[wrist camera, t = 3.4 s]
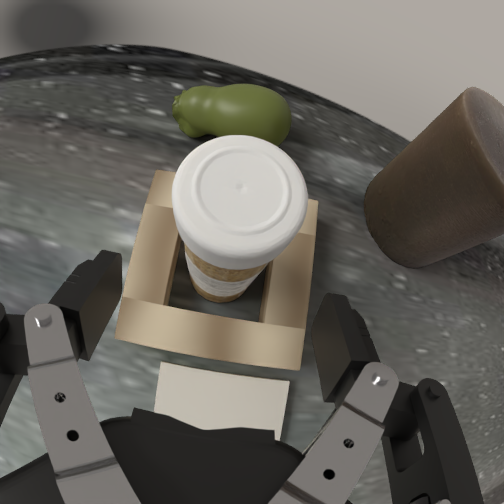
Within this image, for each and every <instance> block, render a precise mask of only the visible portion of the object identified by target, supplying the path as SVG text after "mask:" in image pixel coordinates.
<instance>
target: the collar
mask: <svg viewBox="0 0 504 504" xmlns="http://www.w3.org/2000/svg"><path fill="white" fill-rule="evenodd" d="M175 175H176V173H175V172H169V171H163V170H156V172H155V175H154V178H153V181H152V184H151V187H150V190H149V194H148V197H147V200H146V204H145V207H144V211H143V214H142V218H141V221H140V225H139V228H138V232H137V236H136V240H135V244H134V248H133V252H132V256H131V260H130V264H129V268H128V272H127V277H126V281H125V286H124V291H123V295H122V300H121V305H120V310H119V315H118V321H117V326H116V332H115V338H116V339H120V340H124V341H128V342H132V343H136V344H140V345H145V346H149V347H154V348H158V349H163V350H168V351H172V352H177V353H182V354H188V355H193V356H198V357H204V358H210V359H216V360H222V361H228V362H235V363H242V364H249V365H256V366H264V367H272V368H281V369H291V370H300V365H301V358H302V351H303V344H304V337H305V329H306V321H307V313H308V305H309V296H310V287H311V278H312V268H313V258H314V247H315V236H316V223H317V210H318V201H316V200H312V199H308V207H307V213H306V217H305V220H304V222H303V224H302V226H301V228H300V230H299V231H298V233H297V234H296V236H295V237H294V239H293V240H292V241H291V242H290V244H289V245H288V246H287V247H286V248H285V249H284V250H283V252H282V253H281V254H279V255H278V256H277V257H276V258H274V259H273V260H271V261H269V263H268V264H267V266H266V273H265V280H264V287H263V294H262V301H261V307H260V314H259V321H258V322H252V321H246V320H240V319H234V318H228V317H222V316H216V315H211V314H205V313H200V312H195V311H189V310H184V309H179V308H174V307H169V306H168V303H169V298H170V293H171V288H172V283H173V278H174V273H175V268H176V264H177V259H178V254H179V250H180V245H181V241H182V238H181V236H180V234H179V232H178V229H177V226H176V222H175V217H174V213H173V206H172V185H173V181H174V178H175Z"/></svg>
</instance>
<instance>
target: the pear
mask: <svg viewBox="0 0 504 504" xmlns="http://www.w3.org/2000/svg"><path fill="white" fill-rule="evenodd" d="M174 100H175V101H174V103H173V105H172V112H173V117H174V118H175V120H176V121H177V122H178V124H179V128H180V129H181V130H182V131H183V132H184V133H185V134H186V135H188V136H189V137H192V138H196V137H200V136H203V135H205V134H212V135H216V136H218V137H223V136H229V135H246V136H253V137H256V138H259V139H263V140H265V141H267V142H270V143H272V144H274V145H275V146H279V145H280V144H281V143H282V142H283V141H284V140H285V138H286V137H287V135H288V133H289V130H290V126H291V111H290V108H289V106H288V104H287V102H286V101H285V99H284V98H283V97H282V96H280V95H279V94H278V93H276V92H274V91H272V90H270V89H268V88H265V87H261V86H257V85H252V84H234V85H228V86H224V87H212V86H197V87H192V88H190V89H189V90H188V91H186V90H183V91H182V94H181V95H179V96H175V97H174Z"/></svg>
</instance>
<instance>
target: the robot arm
mask: <svg viewBox="0 0 504 504" xmlns="http://www.w3.org/2000/svg"><path fill="white" fill-rule="evenodd" d="M121 294H122V256H121V254H120V253H116V252H111V251H106V250H101V251H100V253H99V254H98V255H97V256H96V258H95V259H94V260H93V261H92V260H87V261H85V262H83V263H81V264H80V265H78V266H77V267H76V268H75V270H74V271H73V272H72V273H71V275H70V276H69V277H68V278H67V280H66V282H64V283H63V285H62V286H61V287H60V288H59V290H58V291H57V292H56V294H55V295H54V296H53V298H52V299H51V300H50V302H49V303H48V304H39V305H36V306H34V307H32V308H31V309H29V310H28V311H27V313H26V314H25V315H13V314H6V311H5V308H4V306H3V305H2V303H0V427H1V424H2V422H3V419H4V417H5V414H6V412H7V410H8V407H9V405H10V403H11V401H12V398H13V396H14V394H15V392H16V390H17V387H18V385H19V383H20V381H21V379H22V377H23V375H28V376H29V382H30V387H31V391H32V396H33V400H34V405H35V409H36V413H37V417H38V421H39V424H40V428H41V431H42V435H43V438H44V441H45V445H46V448H47V451H48V453H46V454H44V455H42V456H41V457H39V458H37V459H35V460H33V461H32V462H30V463H28V464H26V465H24V466H22V467H21V468H19V469H17V470H15V471H13V472H11V473H9V474H8V475H6V476H4V477H2V478H0V504H352V503H351V502H350V501H349V500H348V497H349V496H350V494H351V492H352V491H353V489H354V487H355V486H356V484H357V482H358V480H359V479H360V477H361V475H362V473H363V471H364V470H365V468H366V466H367V464H368V462H369V460H370V458H371V456H372V454H373V452H374V450H375V448H376V446H377V444H378V442H379V440H380V438H381V440H382V445H383V450H384V455H385V460H386V466H387V471H388V477H389V483H390V489H391V495H392V502H393V504H484V502H483V498H482V494H481V490H480V487H479V483H478V479H477V476H476V472H475V469H474V466H473V463H472V459H471V456H470V453H469V450H468V447H467V444H466V441H465V438H464V435H463V432H462V430H461V427H460V424H459V421H458V419H457V416H456V413H455V411H454V408H453V406H452V403H451V401H450V398H449V396H448V393H447V391H446V389H445V388H444V387H443V385H442V384H441V383H439V382H438V381H436V380H434V379H430V378H425V379H423V380H421V381H420V382H419V384H418V385H417V386H412V385H409V384H406V383H402V382H399V380H398V377H397V375H396V373H395V372H394V371H393V370H392V369H391V368H390V367H389V366H387V365H385V364H383V363H381V362H380V360H379V357H378V355H377V352H376V349H375V347H374V344H373V342H372V339H371V338H370V334H369V332H368V330H367V327H366V324H365V322H364V319H363V318H362V317H361V316H360V314H359V313H358V312H357V311H356V310H353V309H351V307H350V304H349V302H348V299H347V297H346V296H344V295H338V294H331V293H327V294H326V295H325V297H324V299H323V301H322V304H321V306H320V308H319V311H318V313H317V315H316V318H315V320H314V322H313V325H312V331H311V337H312V342H313V347H314V352H315V357H316V362H317V367H318V373H319V378H320V383H321V389H322V394H323V400H324V402H331V403H335V406H336V408H335V409H334V411H333V412H332V413H331V415H330V416H329V418H328V419H327V421H326V422H325V423H324V425H323V426H322V428H321V429H320V430H319V432H318V433H317V435H316V436H315V437H314V439H313V440H312V441H311V443H310V444H309V445H308V446H307V448H306V449H305V450H304V451H303V453H301V452H300V451H298V450H297V449H295V448H294V447H292V446H290V445H288V444H286V443H283V442H281V441H278V440H275V430H267V429H255V428H245V427H235V428H225V429H212V430H203V429H199V428H197V427H194V426H192V425H189V424H187V423H185V422H182V421H180V420H178V419H175V418H173V417H171V416H168V415H164V414H159V413H155V412H151V411H146V410H142V409H138V408H134V409H133V413H132V416H126V417H116V418H111V419H107V420H104V421H101V422H99V421H98V419H97V416H96V414H95V412H94V409H93V407H92V404H91V401H90V399H89V396H88V394H87V391H86V388H85V385H84V383H83V380H82V377H81V374H80V371H79V368H78V365H77V361H78V359H79V358H80V359H83V360H86V361H89V360H90V358H91V356H92V354H93V352H94V350H95V348H96V346H97V344H98V342H99V340H100V338H101V336H102V334H103V332H104V330H105V328H106V326H107V324H108V322H109V320H110V318H111V316H112V314H113V312H114V310H115V308H116V306H117V305H118V303H119V301H120V298H121ZM419 431H420V432H421V436H422V439H423V443H424V454H423V456H422V452H421V448H420V444H419V440H418V437H417V433H418V432H419Z"/></svg>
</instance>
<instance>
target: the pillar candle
mask: <svg viewBox="0 0 504 504" xmlns="http://www.w3.org/2000/svg"><path fill="white" fill-rule="evenodd" d="M364 212H365V217H366V222H367V226H368V229H369V232H370V234H371V235H372V237H373V238H374V240H375V242H376V243H377V244H378V246H379V247H380V249H381V250H382V251H383V252H384V253H385V254H386V255H387V256H388V257H389V258H390V259H392V260H393V261H395V262H396V263H398V264H400V265H403V266H406V267H410V268H420V267H423V266H426V265H429V264H432V263H435V262H437V261H440V260H442V259H445V258H447V257H450V256H452V255H455V254H457V253H460V252H462V251H464V250H467V249H469V248H472V247H474V246H477V245H479V244H481V243H484V242H486V241H489V240H491V239H493V238H495V237H498V236H500V235H502V234H504V106H503V105H502V104H501V103H500V102H499V101H498V100H496V99H495V98H494V97H493V96H491V95H490V94H488V93H487V92H485V91H483V90H481V89H478V88H476V87H470V88H468V89H466V90H465V91H464V92H463V93H461V94H460V95H459V97H458V98H457V99H455V100H454V101H453V102H452V103H451V104H450V105H449V106H448V107H447V108H446V109H445V110H444V111H443V112H442V113H441V114H440V115H439V116H438V117H437V118H436V119H435V120H434V121H433V122H431V124H430V125H429V126H428V127H427V128H426V129H425V130H424V131H422V133H420V134H419V135H418V136H417V137H416V138H415V139H414V140H413V141H412V142H411V143H410V144H408V145H407V146H406V148H405V149H404V150H403V151H402V152H401V153H400V154H399V155H397V156H396V157H395V158H394V159H393V160H392V161H391V162H390V163H389V164H388V165H387V166H386V167H385V168H384V169H383V170H382V171H381V172H379V173H378V174H377V175H376V176H375V177H374V179H373V180H372V181H371V182H370V184H369V186H368V187H367V190H366V193H365V199H364Z"/></svg>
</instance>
